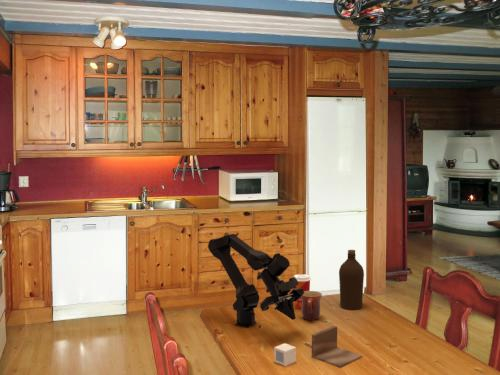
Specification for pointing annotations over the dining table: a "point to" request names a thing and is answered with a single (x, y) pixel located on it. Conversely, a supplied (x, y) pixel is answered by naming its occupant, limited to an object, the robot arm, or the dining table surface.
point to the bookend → (331, 348)
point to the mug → (311, 305)
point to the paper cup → (304, 284)
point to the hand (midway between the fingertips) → (294, 319)
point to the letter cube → (285, 354)
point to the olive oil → (351, 283)
